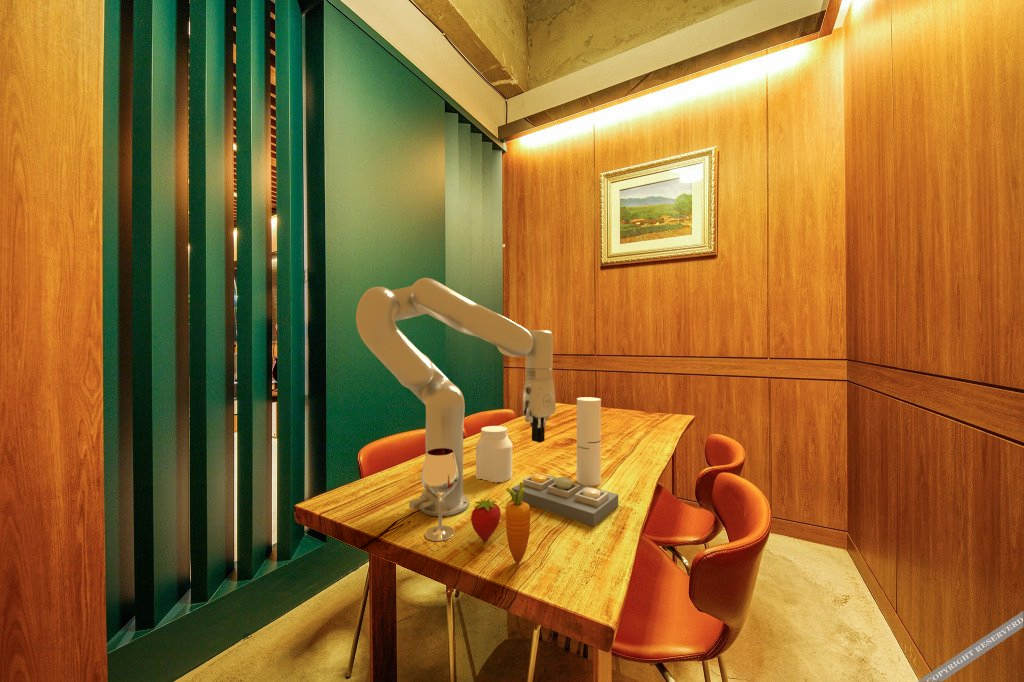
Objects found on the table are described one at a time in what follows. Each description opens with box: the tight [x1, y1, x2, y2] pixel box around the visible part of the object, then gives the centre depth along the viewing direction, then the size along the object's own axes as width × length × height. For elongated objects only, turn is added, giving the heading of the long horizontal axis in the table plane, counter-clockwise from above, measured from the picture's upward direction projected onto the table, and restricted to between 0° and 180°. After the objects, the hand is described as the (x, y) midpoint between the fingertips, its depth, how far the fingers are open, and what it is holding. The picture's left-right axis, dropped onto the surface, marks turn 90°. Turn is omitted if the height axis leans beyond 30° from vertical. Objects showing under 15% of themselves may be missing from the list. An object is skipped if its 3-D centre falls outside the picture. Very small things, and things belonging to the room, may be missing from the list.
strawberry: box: [470, 494, 502, 543], centre depth 79 cm, size 6×8×10 cm
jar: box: [475, 425, 513, 484], centre depth 118 cm, size 12×10×15 cm
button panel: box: [511, 473, 619, 528], centre depth 98 cm, size 14×24×4 cm, turn 52°
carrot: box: [505, 481, 531, 564], centre depth 71 cm, size 5×5×15 cm
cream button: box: [583, 487, 600, 499], centre depth 93 cm, size 4×4×2 cm
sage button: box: [555, 476, 573, 489], centre depth 98 cm, size 4×4×2 cm
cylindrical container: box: [576, 396, 602, 487], centre depth 114 cm, size 7×7×25 cm
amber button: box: [530, 473, 546, 484], centre depth 103 cm, size 4×4×2 cm
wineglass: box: [420, 448, 459, 542], centre depth 82 cm, size 8×8×18 cm
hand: (538, 441), depth 103 cm, fingers closed
